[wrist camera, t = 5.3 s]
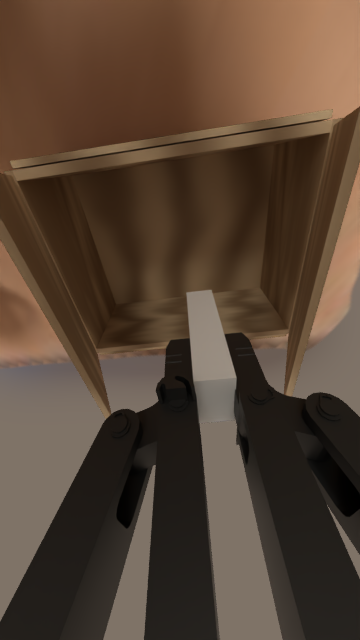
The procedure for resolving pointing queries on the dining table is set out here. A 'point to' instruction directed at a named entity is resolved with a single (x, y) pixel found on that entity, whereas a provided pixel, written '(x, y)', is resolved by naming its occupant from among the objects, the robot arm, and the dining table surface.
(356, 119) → the flap right
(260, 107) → the dining table surface
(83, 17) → the dining table surface
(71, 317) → the flap left
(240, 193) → the carton
